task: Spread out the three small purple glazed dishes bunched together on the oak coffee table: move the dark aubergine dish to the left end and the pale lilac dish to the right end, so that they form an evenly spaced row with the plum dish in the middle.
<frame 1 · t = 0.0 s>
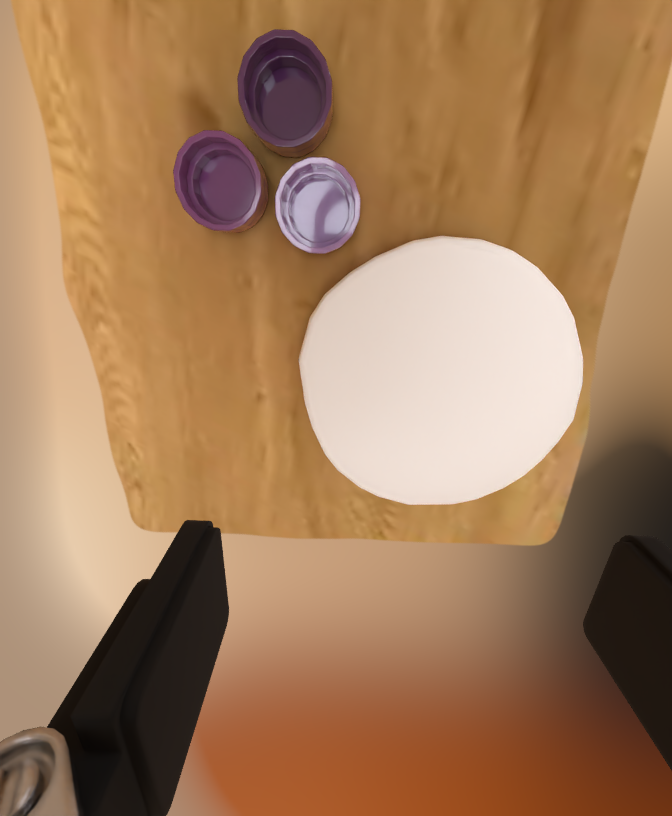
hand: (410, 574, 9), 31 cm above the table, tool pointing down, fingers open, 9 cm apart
plum dish: (230, 190, 33), on the table
lilac dish: (320, 212, 34), on the table
aubergine dish: (291, 109, 31), on the table
plate: (430, 379, 40), on the table
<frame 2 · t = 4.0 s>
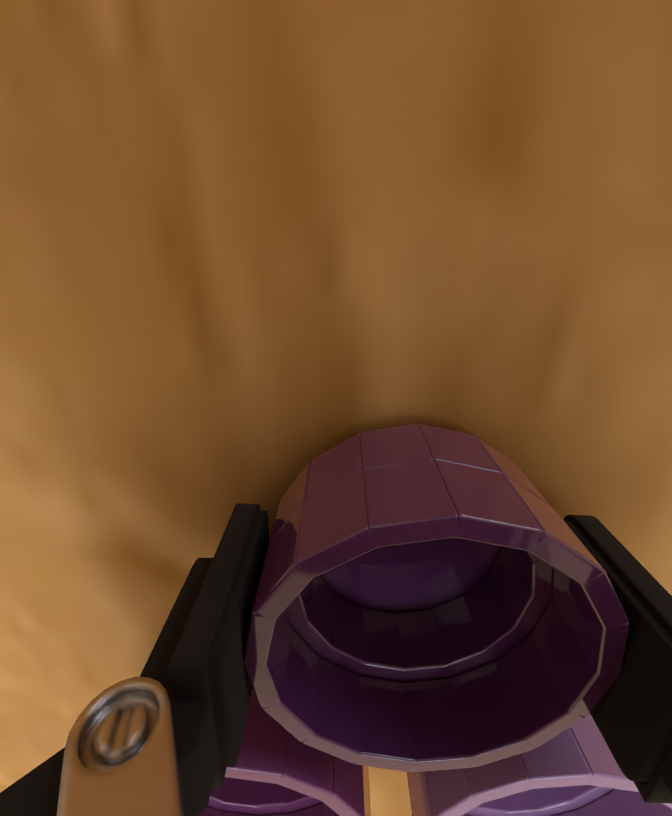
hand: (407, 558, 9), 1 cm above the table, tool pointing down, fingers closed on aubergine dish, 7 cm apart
plum dish: (263, 685, 13), on the table
lilac dish: (497, 689, 13), on the table
aubergine dish: (401, 529, 10), on the table, touching gripper
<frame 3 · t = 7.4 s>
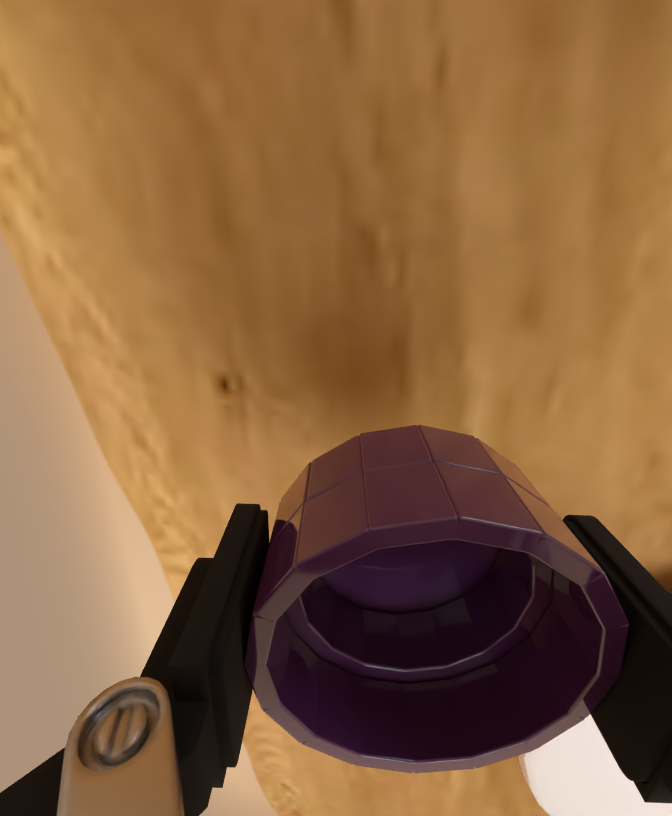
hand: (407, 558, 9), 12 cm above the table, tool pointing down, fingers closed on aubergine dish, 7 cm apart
aubergine dish: (401, 530, 10), point 11 cm above the table, touching gripper
when the fingers open (1 cm above the table, at t = 10.8 s): aubergine dish stays where it is, on the table.
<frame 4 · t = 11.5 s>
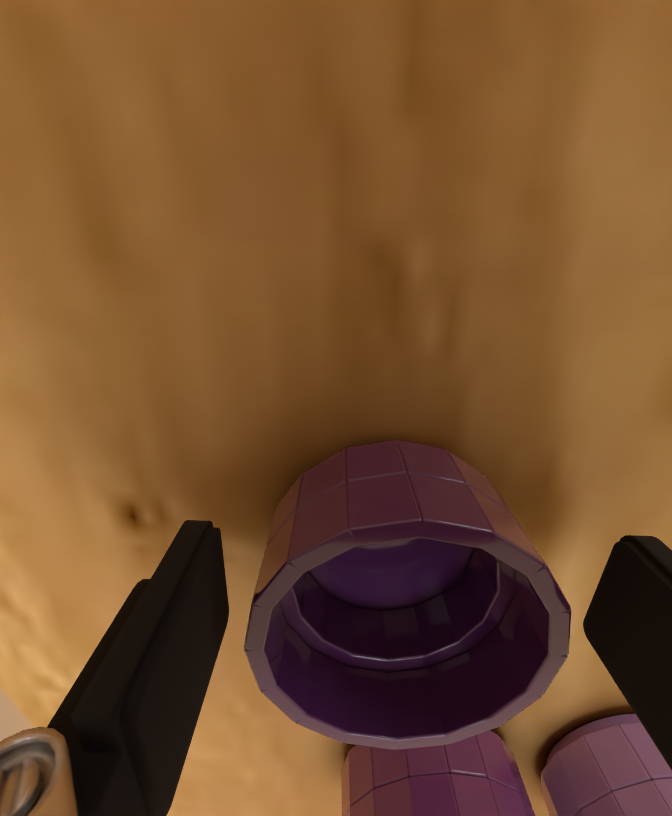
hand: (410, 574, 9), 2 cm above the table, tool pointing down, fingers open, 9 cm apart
plum dish: (424, 755, 16), on the table
lilac dish: (618, 758, 16), on the table
aubergine dish: (385, 533, 12), on the table
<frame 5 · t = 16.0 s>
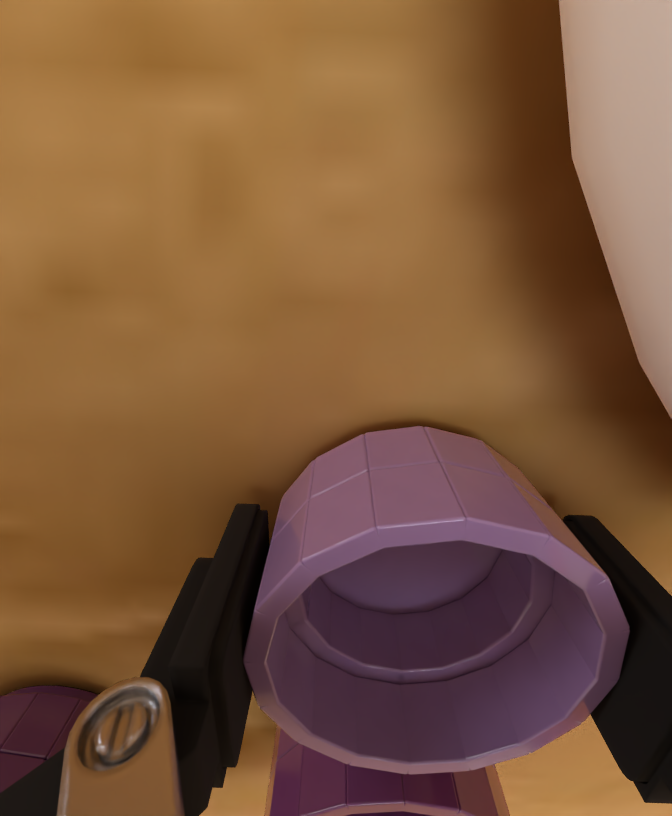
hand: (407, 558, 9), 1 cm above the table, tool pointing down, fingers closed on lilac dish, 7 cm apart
plum dish: (376, 710, 14), on the table
lilac dish: (401, 530, 10), on the table, touching gripper
aubergine dish: (72, 734, 14), on the table
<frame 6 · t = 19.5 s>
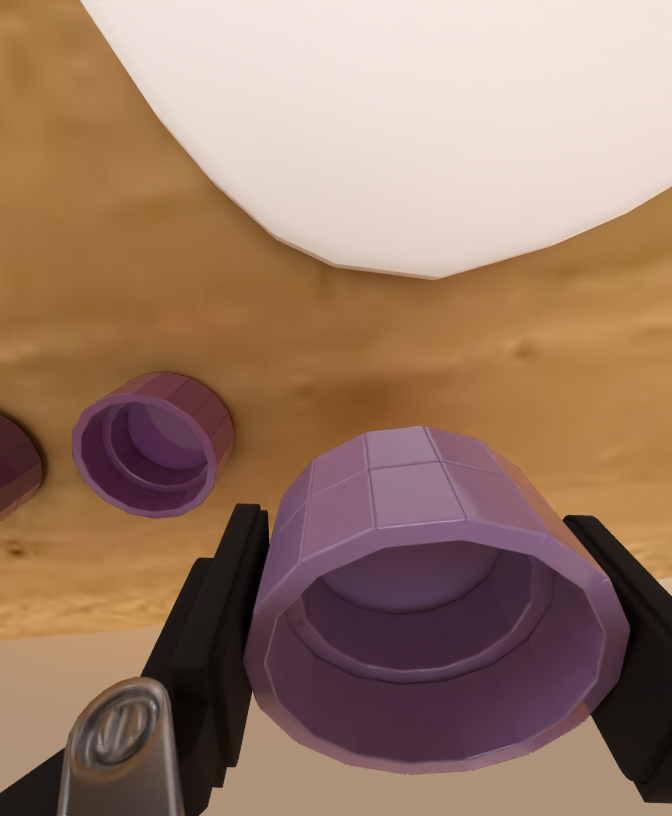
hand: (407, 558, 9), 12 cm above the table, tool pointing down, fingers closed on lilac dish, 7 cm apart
plum dish: (176, 427, 22), on the table
lilac dish: (401, 530, 10), point 11 cm above the table, touching gripper
when the fingers open (1 cm above the table, at t = 23.0 s): lilac dish stays where it is, on the table.
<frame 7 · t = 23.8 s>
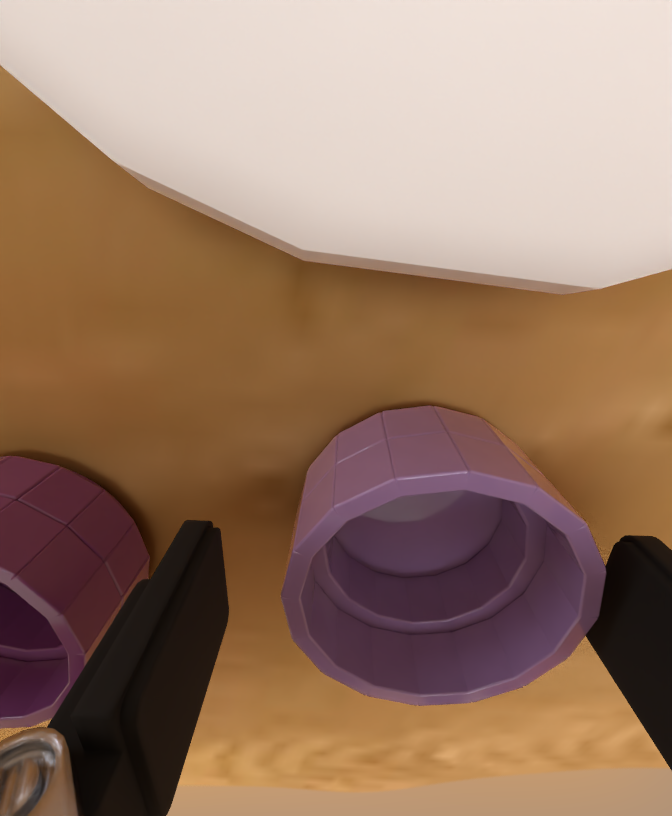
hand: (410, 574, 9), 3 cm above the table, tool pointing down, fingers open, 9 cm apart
plum dish: (55, 537, 13), on the table
lilac dish: (412, 502, 12), on the table
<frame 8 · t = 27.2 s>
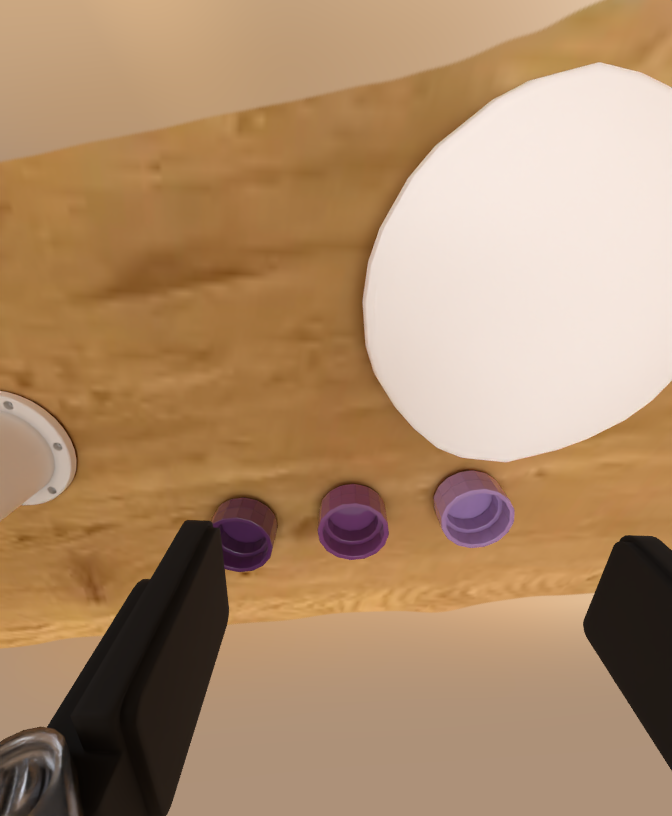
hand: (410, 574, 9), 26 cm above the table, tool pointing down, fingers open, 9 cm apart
plum dish: (352, 508, 40), on the table
lilac dish: (465, 496, 39), on the table
aubergine dish: (246, 520, 41), on the table
plate: (520, 293, 32), on the table
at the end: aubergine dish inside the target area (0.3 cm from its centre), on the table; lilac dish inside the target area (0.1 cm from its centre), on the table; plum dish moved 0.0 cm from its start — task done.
